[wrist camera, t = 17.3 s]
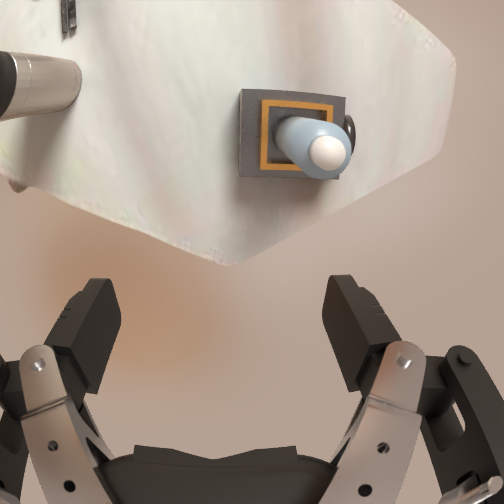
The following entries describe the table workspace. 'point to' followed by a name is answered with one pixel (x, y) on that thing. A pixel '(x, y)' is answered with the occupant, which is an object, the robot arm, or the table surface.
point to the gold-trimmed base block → (269, 115)
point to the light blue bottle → (314, 146)
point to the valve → (70, 15)
